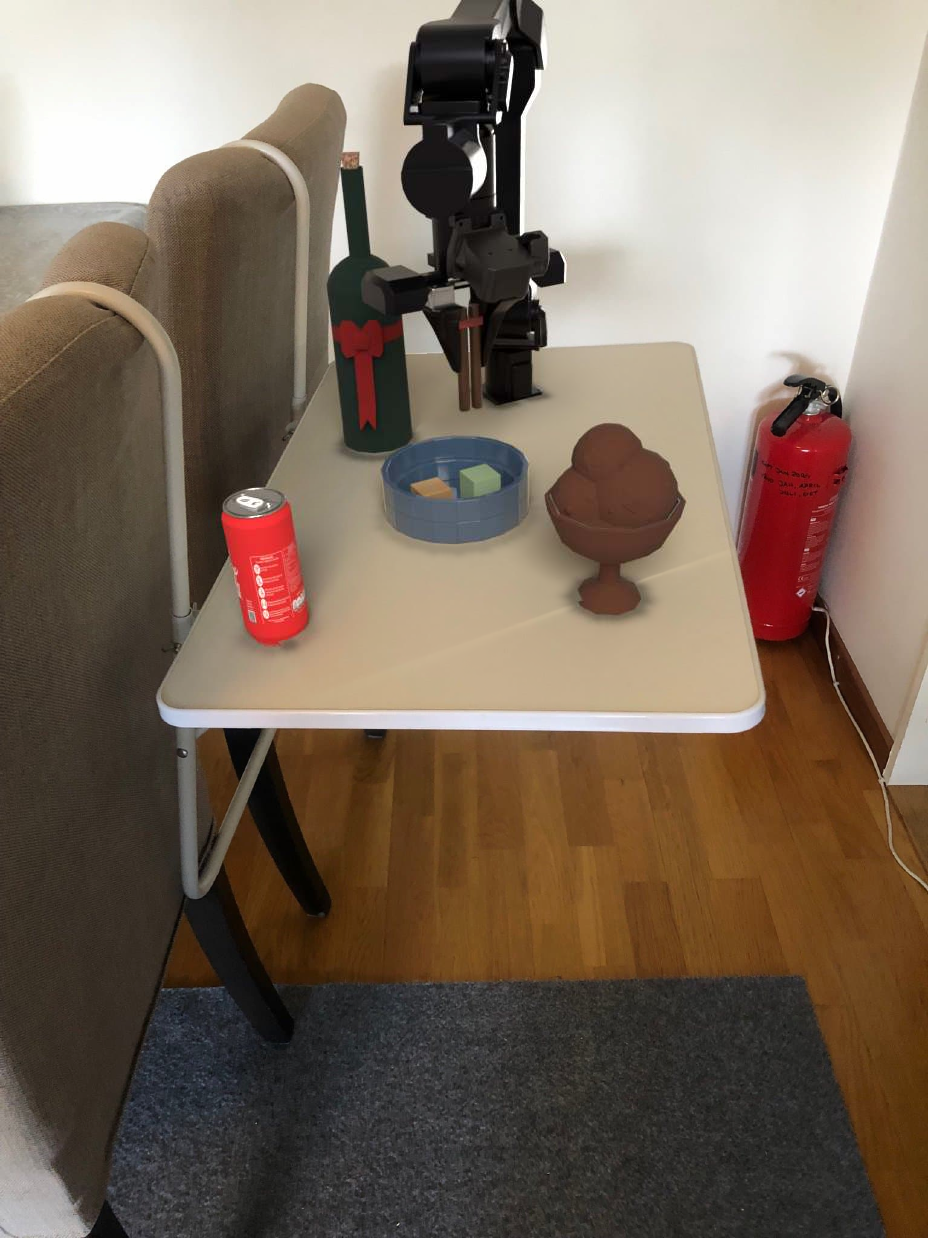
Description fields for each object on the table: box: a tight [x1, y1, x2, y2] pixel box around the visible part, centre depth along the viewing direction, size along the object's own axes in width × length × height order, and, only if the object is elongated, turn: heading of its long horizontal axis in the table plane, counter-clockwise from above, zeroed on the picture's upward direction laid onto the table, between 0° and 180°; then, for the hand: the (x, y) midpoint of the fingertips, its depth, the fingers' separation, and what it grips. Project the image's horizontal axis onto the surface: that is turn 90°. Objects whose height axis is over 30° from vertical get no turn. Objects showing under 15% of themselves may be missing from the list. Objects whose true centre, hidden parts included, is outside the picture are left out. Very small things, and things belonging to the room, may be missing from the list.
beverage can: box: [221, 486, 309, 647], centre depth 73 cm, size 5×5×12 cm
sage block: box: [460, 464, 501, 498], centre depth 91 cm, size 3×3×3 cm
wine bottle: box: [326, 151, 413, 454], centre depth 96 cm, size 8×10×30 cm
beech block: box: [411, 477, 452, 499], centre depth 89 cm, size 3×3×3 cm
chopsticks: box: [457, 303, 484, 413], centre depth 88 cm, size 1×3×10 cm, turn 119°
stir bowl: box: [380, 435, 530, 544], centre depth 90 cm, size 14×14×5 cm
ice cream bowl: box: [543, 422, 687, 616], centre depth 74 cm, size 11×11×15 cm
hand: (468, 368), depth 89 cm, fingers closed on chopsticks, 2 cm apart
